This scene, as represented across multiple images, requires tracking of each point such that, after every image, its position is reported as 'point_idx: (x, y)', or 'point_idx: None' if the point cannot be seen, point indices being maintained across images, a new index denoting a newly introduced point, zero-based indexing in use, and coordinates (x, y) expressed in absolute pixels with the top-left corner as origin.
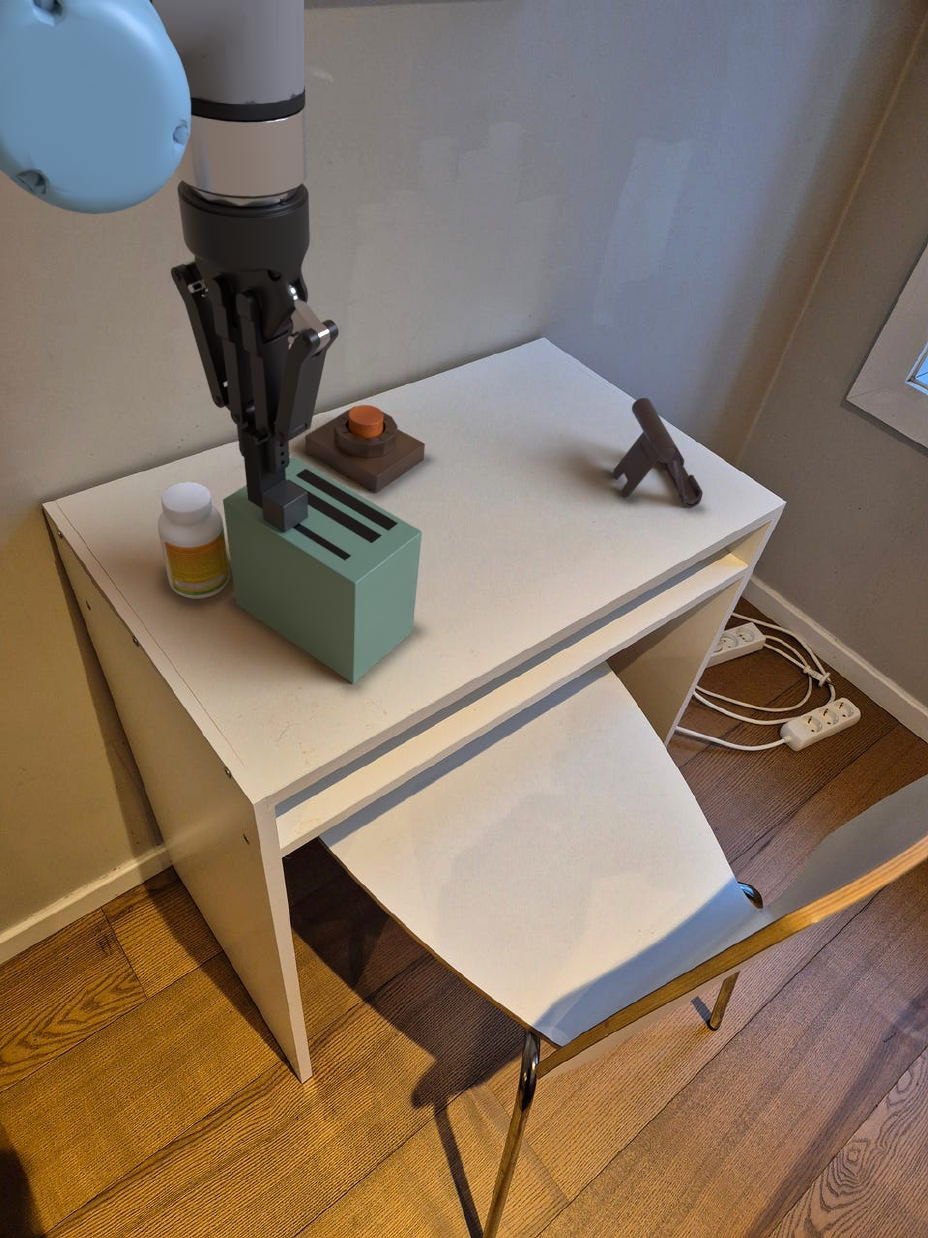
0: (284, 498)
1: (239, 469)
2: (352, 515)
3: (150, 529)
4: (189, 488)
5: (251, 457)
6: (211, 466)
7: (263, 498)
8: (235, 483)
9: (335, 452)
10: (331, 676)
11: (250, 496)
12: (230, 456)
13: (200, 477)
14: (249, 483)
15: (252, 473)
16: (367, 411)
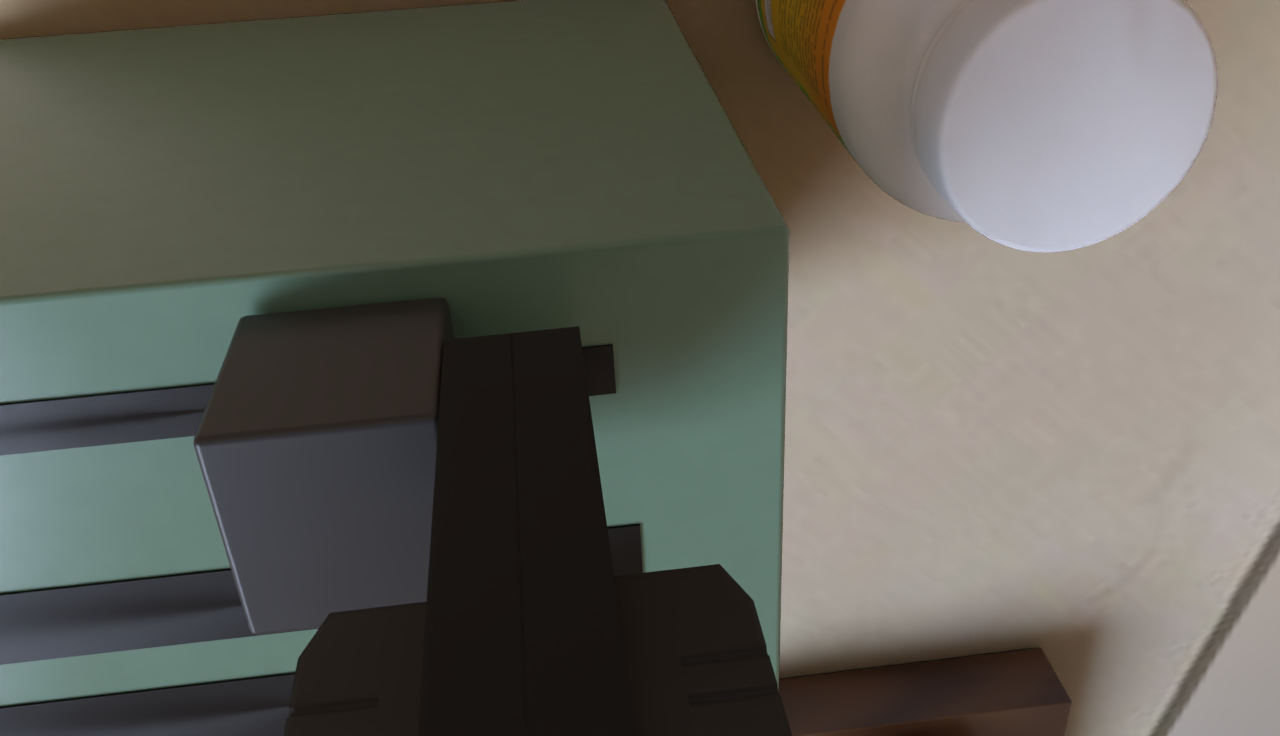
0: (276, 499)
1: (1173, 454)
2: (159, 657)
3: (1245, 10)
4: (1110, 182)
5: (513, 623)
6: (1269, 395)
7: (412, 398)
8: (1137, 402)
9: (928, 721)
10: (54, 7)
11: (551, 352)
12: (1244, 471)
13: (1267, 333)
14: (557, 420)
15: (515, 501)
16: None
